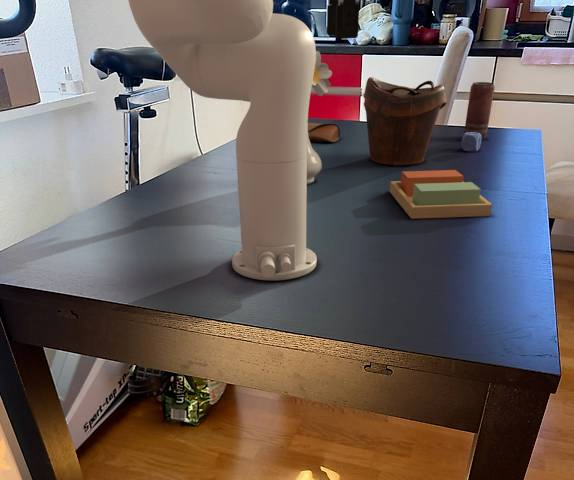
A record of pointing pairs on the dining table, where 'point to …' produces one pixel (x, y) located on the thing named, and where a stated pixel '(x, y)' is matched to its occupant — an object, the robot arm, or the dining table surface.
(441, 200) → the pad sage
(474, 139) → the decorative dice
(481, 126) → the can
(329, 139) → the sunglasses case
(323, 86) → the flower vase
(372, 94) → the wooden bucket
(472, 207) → the wooden tray
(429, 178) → the pad terracotta
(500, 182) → the dining table surface
